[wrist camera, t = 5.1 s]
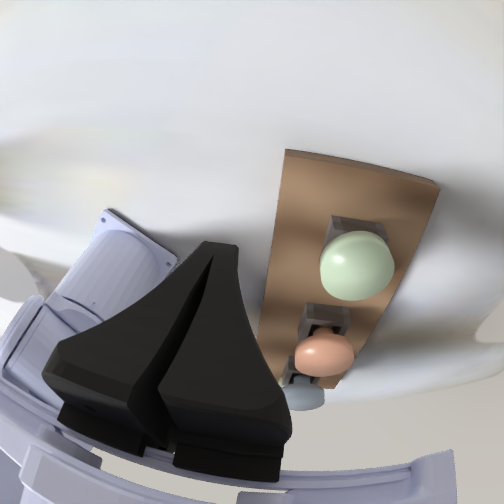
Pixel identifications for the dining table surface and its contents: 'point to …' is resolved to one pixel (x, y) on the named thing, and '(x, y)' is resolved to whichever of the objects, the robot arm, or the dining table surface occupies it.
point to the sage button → (356, 266)
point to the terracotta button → (324, 354)
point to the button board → (319, 236)
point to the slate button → (303, 394)
